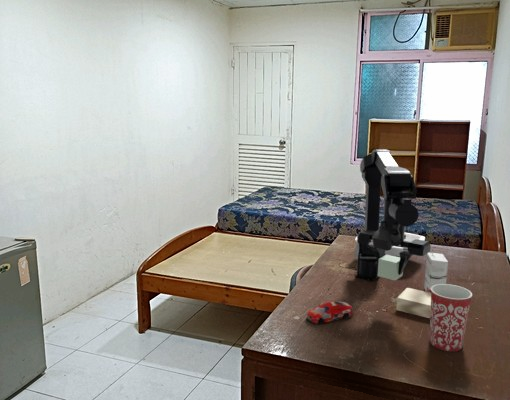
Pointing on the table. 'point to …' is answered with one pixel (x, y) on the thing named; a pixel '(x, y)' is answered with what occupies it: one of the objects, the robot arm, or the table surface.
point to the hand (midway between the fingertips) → (390, 272)
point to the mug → (449, 316)
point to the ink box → (435, 270)
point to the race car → (330, 312)
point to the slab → (415, 302)
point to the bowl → (396, 250)
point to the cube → (389, 267)
